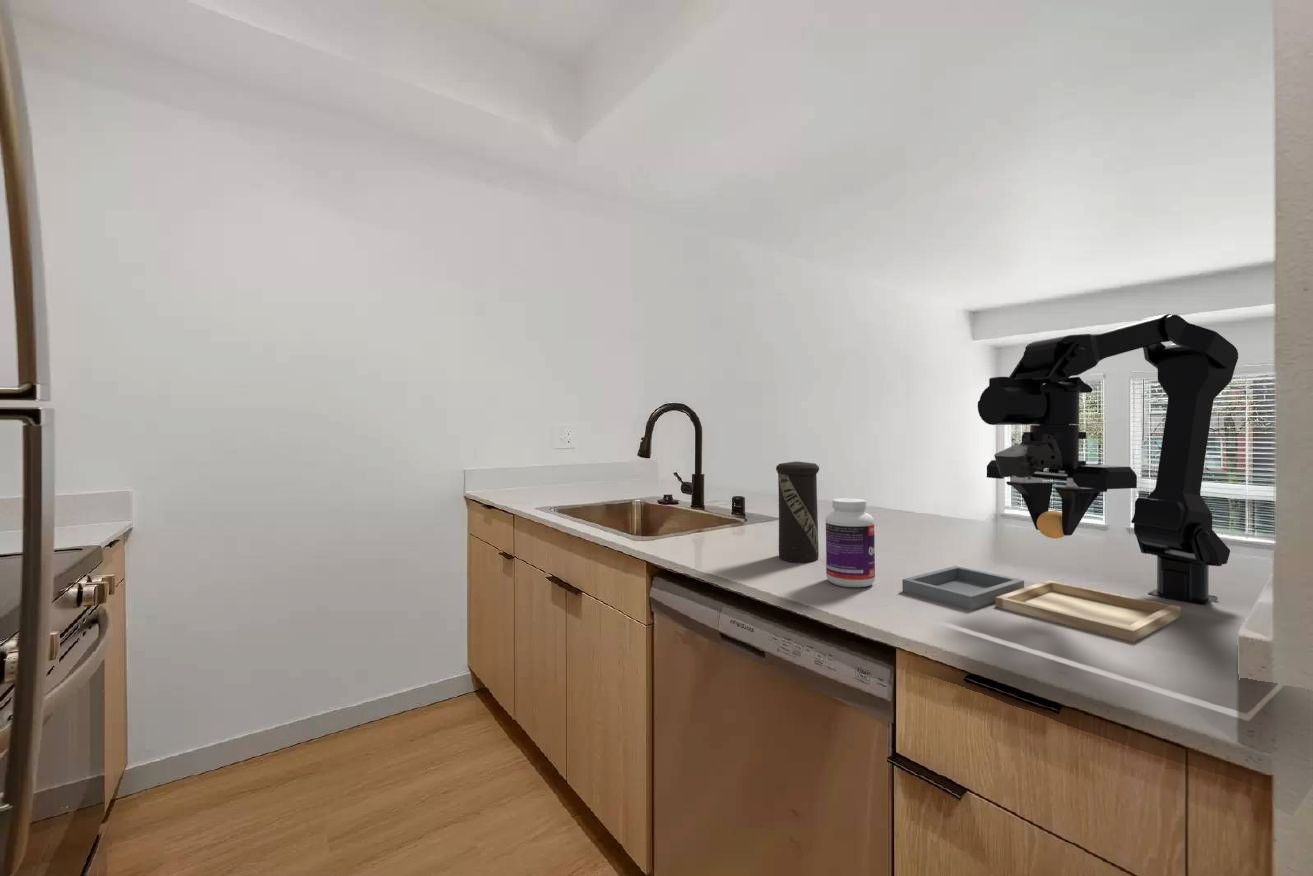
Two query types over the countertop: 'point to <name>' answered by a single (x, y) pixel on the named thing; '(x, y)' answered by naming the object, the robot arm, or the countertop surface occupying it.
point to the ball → (1051, 524)
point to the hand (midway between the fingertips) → (1053, 532)
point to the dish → (1090, 609)
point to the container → (798, 511)
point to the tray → (961, 586)
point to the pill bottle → (850, 544)
